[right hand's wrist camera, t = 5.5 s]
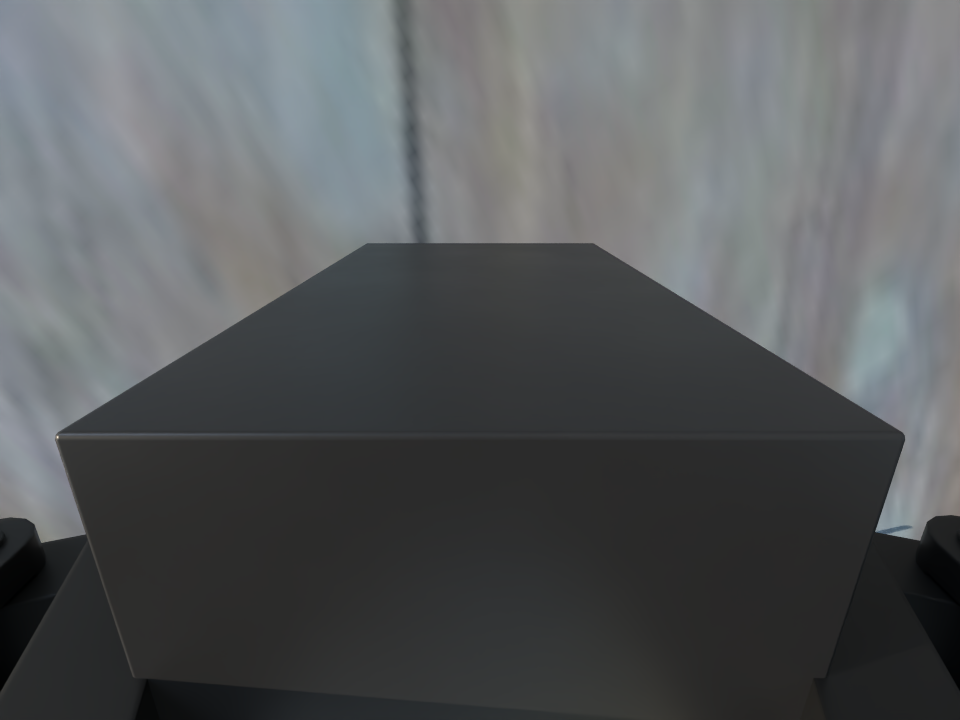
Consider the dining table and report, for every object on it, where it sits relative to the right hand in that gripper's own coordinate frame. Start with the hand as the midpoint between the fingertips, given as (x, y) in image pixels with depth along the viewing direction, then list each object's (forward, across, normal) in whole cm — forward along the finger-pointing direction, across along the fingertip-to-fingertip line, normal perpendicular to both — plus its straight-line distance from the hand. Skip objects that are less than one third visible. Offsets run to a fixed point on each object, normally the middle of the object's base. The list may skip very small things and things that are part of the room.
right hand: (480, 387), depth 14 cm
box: (+2, 0, -10) cm, 10 cm away
